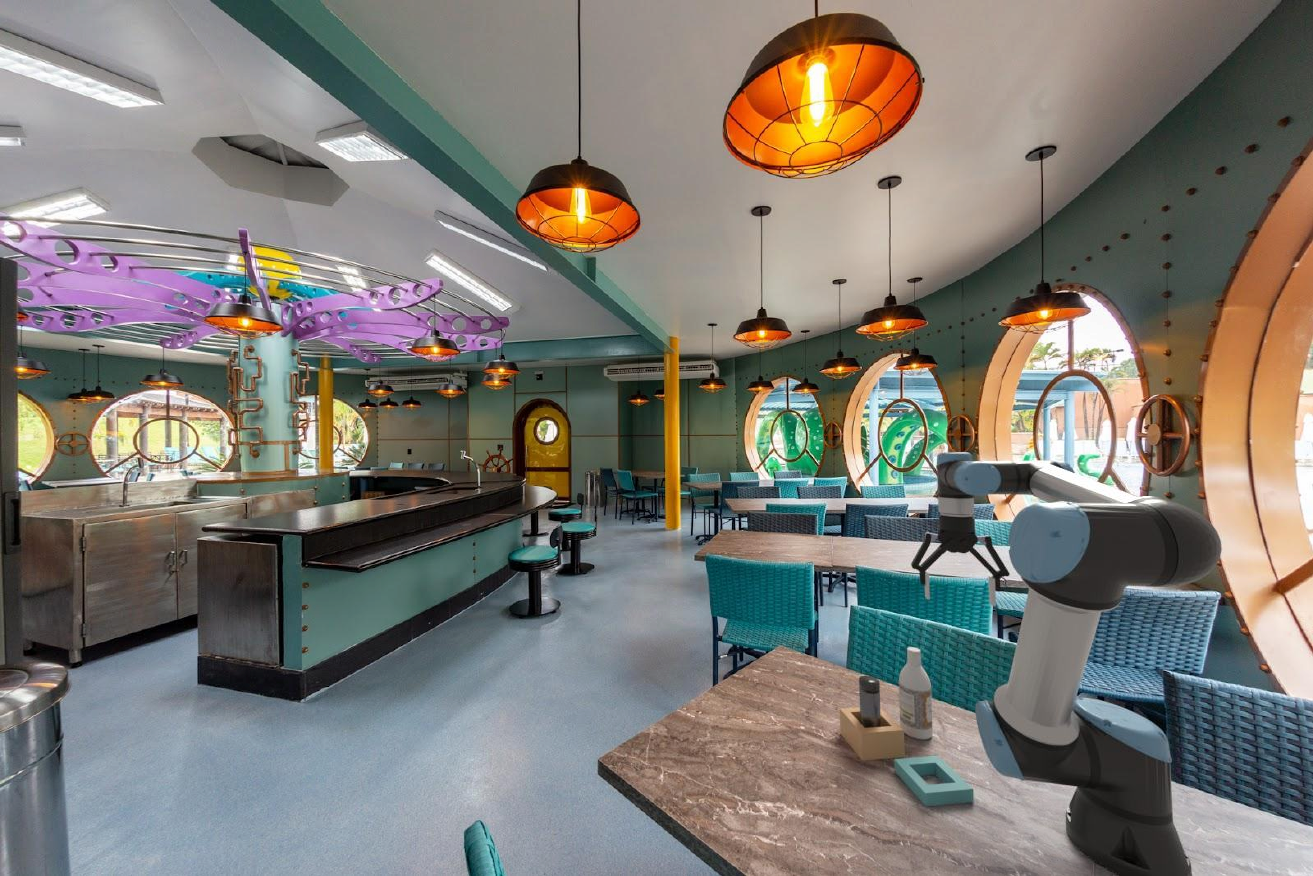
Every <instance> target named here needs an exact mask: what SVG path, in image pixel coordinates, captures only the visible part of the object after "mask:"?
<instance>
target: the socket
mask: <svg viewBox="0 0 1313 876" xmlns="http://www.w3.org/2000/svg"><path fill="white" fill-rule="evenodd" d="M880 716H881V727H872V728H864V726H863V725H862V724H861V723H860V706H857V707H847V708H846V707H842V708H839V722H840V725H839V727H840V730H839V731H840V735H841V736H842V737H843V739H844V740H845V741H846V742H847V744H848V746H850V747H851V749H852V750H853V751H854V752H855V754H857V756H858V757H859V759H861V760H862V761H874V760H884V759H885V760H887V759H888V760H889V759H902V758H905V757H906V751H905V750H906V749H905V747H906V746H905V733H904V730H903V729H902V728H901V727H900V724H898V723H897V722H896V721H895V720H894V719H893V718H892V717H891V716H890V715H889V714H888V713H887V712H886V711H884V709H882V707H880Z"/></svg>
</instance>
